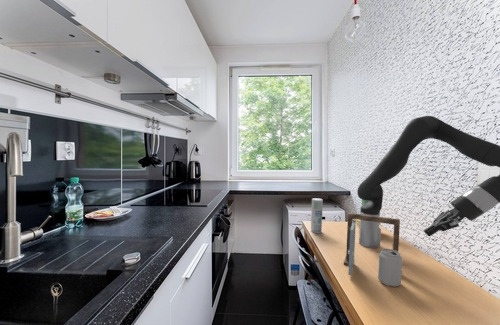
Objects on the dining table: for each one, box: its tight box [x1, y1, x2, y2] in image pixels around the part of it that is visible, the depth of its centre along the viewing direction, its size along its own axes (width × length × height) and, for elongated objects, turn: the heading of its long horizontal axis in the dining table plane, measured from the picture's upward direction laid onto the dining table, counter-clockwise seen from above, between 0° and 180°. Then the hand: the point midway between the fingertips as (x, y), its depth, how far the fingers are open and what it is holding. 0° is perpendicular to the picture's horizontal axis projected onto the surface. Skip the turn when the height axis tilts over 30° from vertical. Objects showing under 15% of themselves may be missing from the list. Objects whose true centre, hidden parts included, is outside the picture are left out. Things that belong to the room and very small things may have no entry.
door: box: [347, 220, 357, 276], centre depth 97 cm, size 14×2×18 cm, turn 152°
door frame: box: [343, 212, 401, 267], centre depth 100 cm, size 21×8×22 cm, turn 62°
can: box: [377, 248, 403, 288], centre depth 88 cm, size 8×8×12 cm
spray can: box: [310, 197, 324, 234], centre depth 144 cm, size 6×6×20 cm
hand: (426, 233), depth 82 cm, fingers closed
